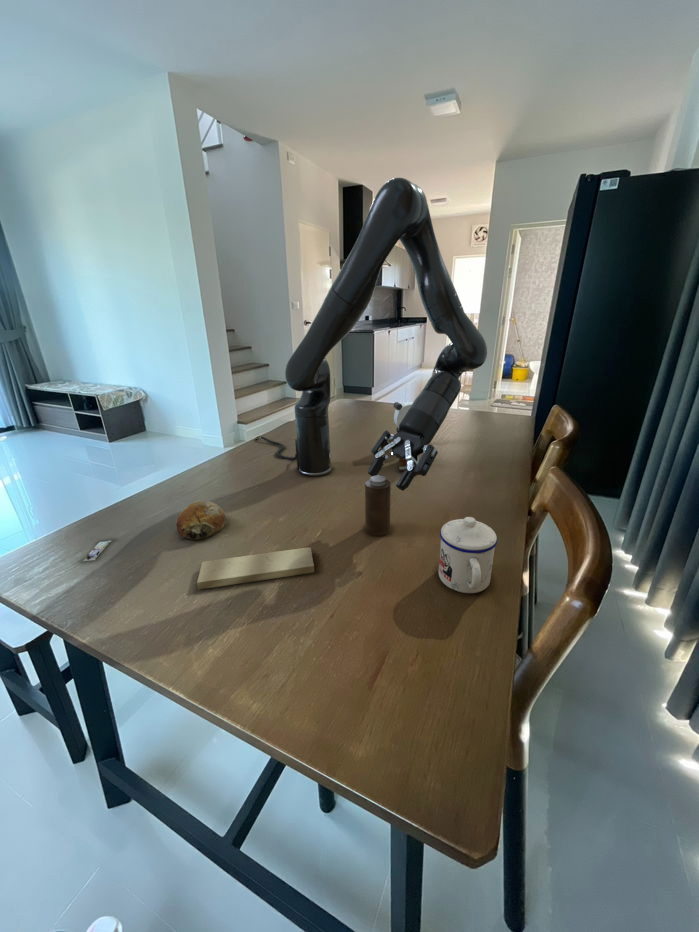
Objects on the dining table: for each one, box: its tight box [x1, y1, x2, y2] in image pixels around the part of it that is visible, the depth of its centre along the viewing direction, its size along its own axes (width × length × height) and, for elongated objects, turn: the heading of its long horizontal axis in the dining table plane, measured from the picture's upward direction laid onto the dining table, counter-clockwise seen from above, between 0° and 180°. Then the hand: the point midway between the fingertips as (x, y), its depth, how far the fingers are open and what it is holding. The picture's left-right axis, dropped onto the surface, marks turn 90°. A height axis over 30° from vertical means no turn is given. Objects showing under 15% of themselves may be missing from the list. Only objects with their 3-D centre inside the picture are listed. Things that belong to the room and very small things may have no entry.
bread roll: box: [176, 499, 226, 541], centre depth 83 cm, size 10×10×8 cm
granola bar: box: [83, 540, 112, 562], centre depth 77 cm, size 7×2×1 cm, turn 5°
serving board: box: [196, 546, 315, 590], centre depth 70 cm, size 20×6×2 cm, turn 101°
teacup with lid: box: [438, 516, 498, 594], centre depth 63 cm, size 12×9×12 cm
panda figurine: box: [393, 401, 414, 433], centre depth 127 cm, size 12×11×15 cm
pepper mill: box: [364, 474, 392, 537], centre depth 79 cm, size 5×5×12 cm
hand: (384, 481), depth 79 cm, fingers open, 8 cm apart
